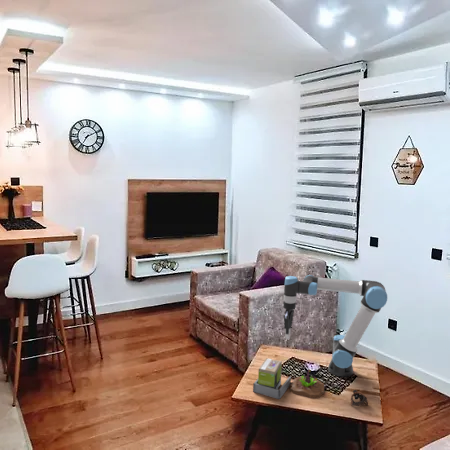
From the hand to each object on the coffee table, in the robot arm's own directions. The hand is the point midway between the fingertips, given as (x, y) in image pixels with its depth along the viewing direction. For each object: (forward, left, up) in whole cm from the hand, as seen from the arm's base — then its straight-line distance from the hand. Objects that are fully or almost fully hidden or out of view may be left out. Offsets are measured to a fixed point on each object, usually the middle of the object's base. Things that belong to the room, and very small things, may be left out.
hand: (287, 338), depth 283 cm
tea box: (+2, +23, -23) cm, 32 cm away
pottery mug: (-47, +14, -23) cm, 54 cm away
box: (0, +23, -22) cm, 32 cm away
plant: (-18, +12, -23) cm, 31 cm away
